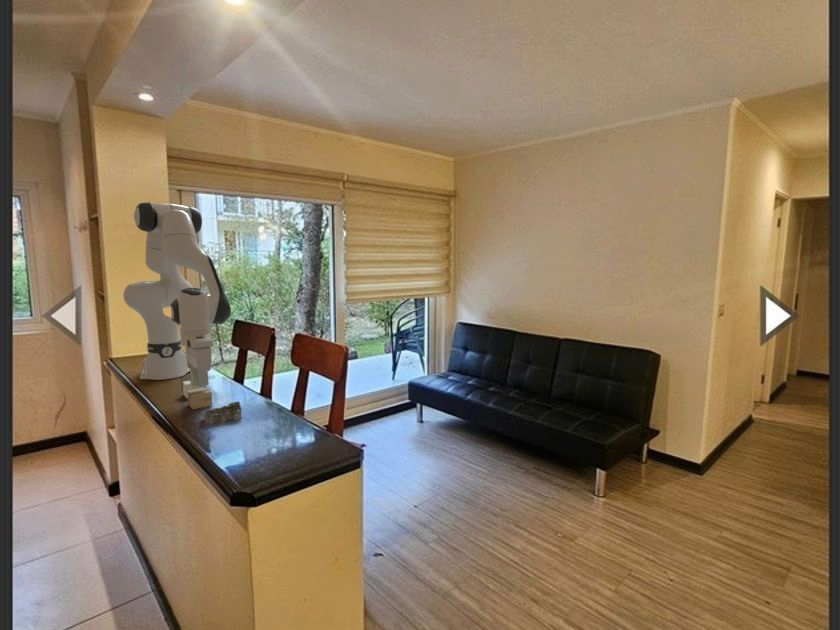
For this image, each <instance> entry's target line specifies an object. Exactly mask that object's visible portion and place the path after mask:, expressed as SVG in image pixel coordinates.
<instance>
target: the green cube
mask: <svg viewBox="0 0 840 630" xmlns="http://www.w3.org/2000/svg"><path fill="white" fill-rule="evenodd" d="M189 369H190V373H189V379H190V380H189V381H190V384H191V385H192V386H193V387H199V386H200V387H204V386H209V373H208V372H209V371H206V372H205V375H204V382H198V380H197V376H198V373H197V370H196V369H192V368H189Z"/></svg>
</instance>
